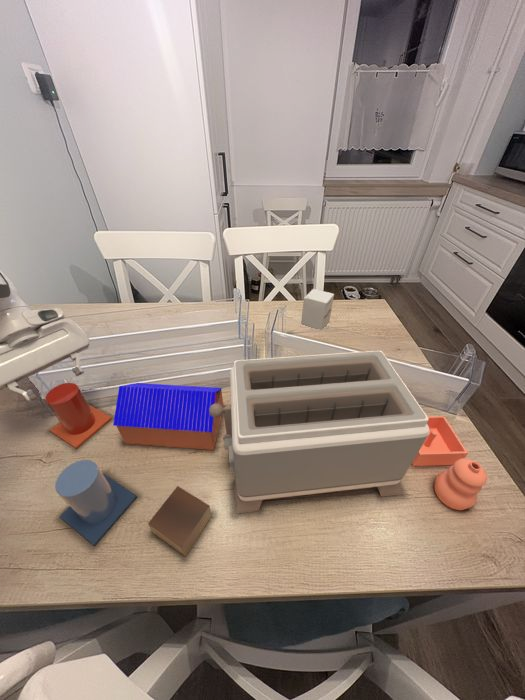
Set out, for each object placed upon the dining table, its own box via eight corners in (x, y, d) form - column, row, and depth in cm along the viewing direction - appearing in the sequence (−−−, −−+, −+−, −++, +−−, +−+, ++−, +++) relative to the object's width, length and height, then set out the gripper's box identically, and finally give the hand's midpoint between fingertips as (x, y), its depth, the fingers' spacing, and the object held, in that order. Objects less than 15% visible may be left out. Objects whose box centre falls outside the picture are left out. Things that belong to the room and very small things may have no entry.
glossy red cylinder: (77, 439, 63) (56, 408, 57) (59, 427, 65) (38, 397, 59) (101, 419, 67) (84, 388, 61) (84, 409, 69) (66, 379, 63)
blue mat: (94, 546, 48) (93, 545, 47) (60, 517, 51) (59, 516, 51) (137, 497, 54) (136, 495, 53) (104, 474, 57) (103, 473, 57)
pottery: (395, 428, 66) (409, 399, 60) (436, 427, 66) (454, 398, 60) (435, 512, 52) (458, 485, 46) (487, 511, 52) (517, 484, 46)
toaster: (218, 426, 66) (208, 357, 54) (363, 413, 69) (386, 345, 57) (217, 516, 51) (203, 450, 39) (402, 494, 54) (445, 426, 42)
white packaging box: (320, 338, 93) (326, 303, 85) (299, 331, 96) (303, 297, 88) (329, 327, 98) (335, 293, 90) (308, 321, 101) (312, 287, 93)
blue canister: (95, 531, 49) (71, 504, 43) (72, 512, 51) (46, 484, 45) (124, 498, 53) (106, 470, 47) (102, 483, 55) (81, 453, 49)
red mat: (76, 448, 62) (75, 447, 61) (50, 431, 65) (49, 430, 65) (112, 418, 68) (111, 417, 67) (86, 404, 71) (85, 402, 71)
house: (215, 451, 61) (209, 415, 54) (122, 444, 62) (104, 408, 55) (225, 407, 71) (221, 371, 63) (144, 402, 72) (131, 366, 65)
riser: (185, 556, 47) (181, 547, 44) (153, 533, 49) (147, 523, 47) (212, 515, 51) (209, 505, 49) (181, 496, 54) (177, 485, 51)
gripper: (-55, 351, 51) (-5, 415, 52) (67, 305, 63) (105, 358, 64) (-44, 359, 56) (1, 418, 57) (67, 315, 68) (102, 365, 69)
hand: (57, 386), depth 61 cm, fingers open, 8 cm apart
